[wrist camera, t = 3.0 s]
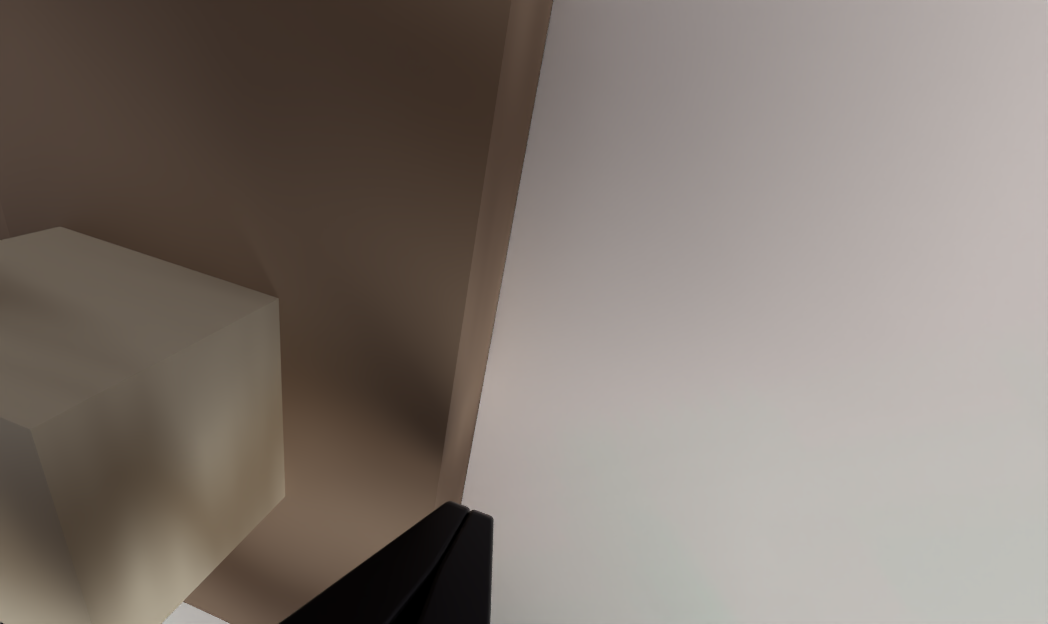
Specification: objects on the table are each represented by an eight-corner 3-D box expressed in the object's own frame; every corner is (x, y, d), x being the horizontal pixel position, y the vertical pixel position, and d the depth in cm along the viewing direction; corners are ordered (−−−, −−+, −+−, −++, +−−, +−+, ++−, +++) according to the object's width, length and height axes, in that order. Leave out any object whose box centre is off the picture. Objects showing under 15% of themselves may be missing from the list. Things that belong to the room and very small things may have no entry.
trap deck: (437, 633, 15) (404, 704, 14) (-104, 399, 19) (-183, 431, 17) (559, -39, 8) (522, -74, 6) (-379, -207, 12) (-569, -258, 10)
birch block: (285, 496, 12) (108, 677, 8) (106, 423, 12) (-124, 558, 9) (278, 298, 9) (31, 429, 6) (60, 226, 10) (-272, 302, 7)
